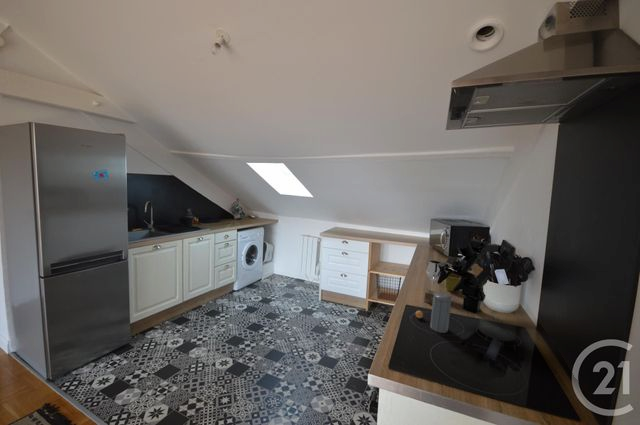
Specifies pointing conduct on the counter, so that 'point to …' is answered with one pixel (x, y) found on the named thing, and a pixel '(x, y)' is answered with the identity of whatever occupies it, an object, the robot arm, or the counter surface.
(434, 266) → the wineglass
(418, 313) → the ball
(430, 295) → the walnut block
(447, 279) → the flower pot
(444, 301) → the tumbler
